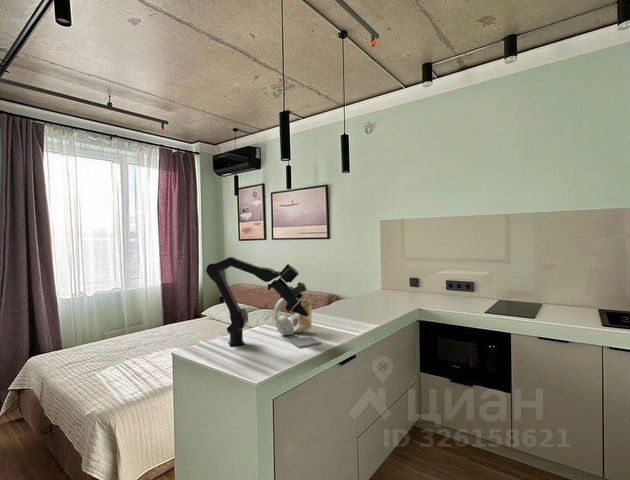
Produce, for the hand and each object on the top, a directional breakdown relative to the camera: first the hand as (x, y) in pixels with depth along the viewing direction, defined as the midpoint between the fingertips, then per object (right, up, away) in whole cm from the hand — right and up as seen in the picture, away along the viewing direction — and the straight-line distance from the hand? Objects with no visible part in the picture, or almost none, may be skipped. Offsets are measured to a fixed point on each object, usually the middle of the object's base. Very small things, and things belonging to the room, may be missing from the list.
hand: (308, 314), depth 146 cm
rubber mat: (-1, -13, +2) cm, 14 cm away
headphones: (-9, -14, +17) cm, 24 cm away
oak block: (-1, -7, 0) cm, 7 cm away
